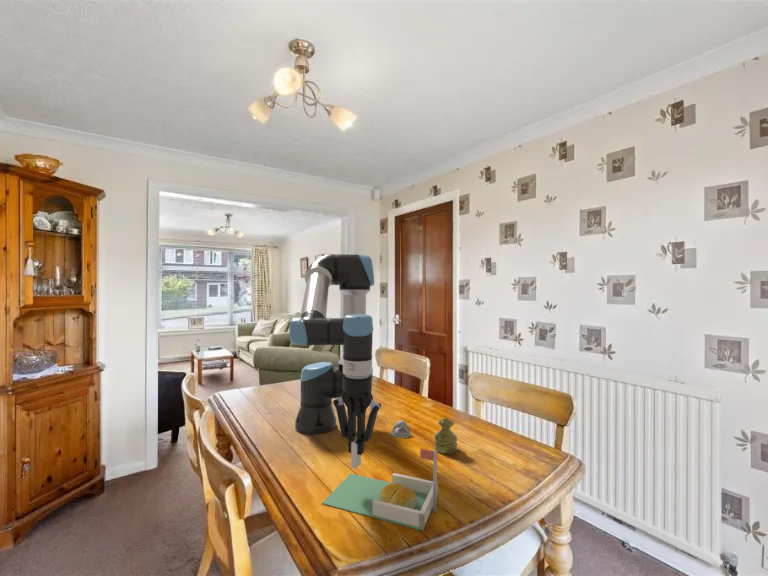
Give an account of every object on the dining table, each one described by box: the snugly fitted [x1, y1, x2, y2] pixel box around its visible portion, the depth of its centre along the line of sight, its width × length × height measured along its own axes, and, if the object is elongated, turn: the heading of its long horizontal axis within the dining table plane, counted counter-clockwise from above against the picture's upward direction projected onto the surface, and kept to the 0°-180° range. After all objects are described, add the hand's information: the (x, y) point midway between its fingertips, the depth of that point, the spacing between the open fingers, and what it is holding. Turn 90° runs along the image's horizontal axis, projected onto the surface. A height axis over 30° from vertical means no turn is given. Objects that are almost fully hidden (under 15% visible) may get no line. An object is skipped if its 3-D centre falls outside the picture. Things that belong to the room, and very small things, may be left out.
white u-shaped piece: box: [372, 448, 439, 529], centre depth 86 cm, size 13×14×14 cm
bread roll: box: [380, 482, 417, 509], centre depth 86 cm, size 8×9×4 cm
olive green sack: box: [433, 417, 458, 455], centre depth 117 cm, size 7×8×10 cm
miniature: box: [390, 419, 412, 439], centre depth 129 cm, size 8×8×5 cm
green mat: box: [321, 473, 439, 531], centre depth 89 cm, size 25×15×1 cm, turn 69°
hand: (355, 465), depth 93 cm, fingers closed
